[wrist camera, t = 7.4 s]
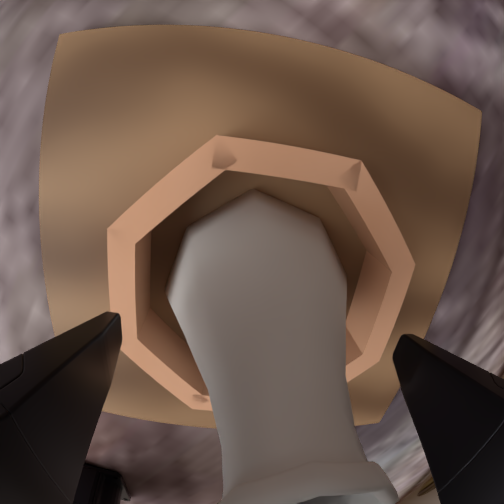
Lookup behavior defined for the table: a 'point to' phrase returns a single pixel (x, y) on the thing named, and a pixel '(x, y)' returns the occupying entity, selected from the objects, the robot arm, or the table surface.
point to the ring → (272, 164)
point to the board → (234, 182)
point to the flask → (273, 354)
